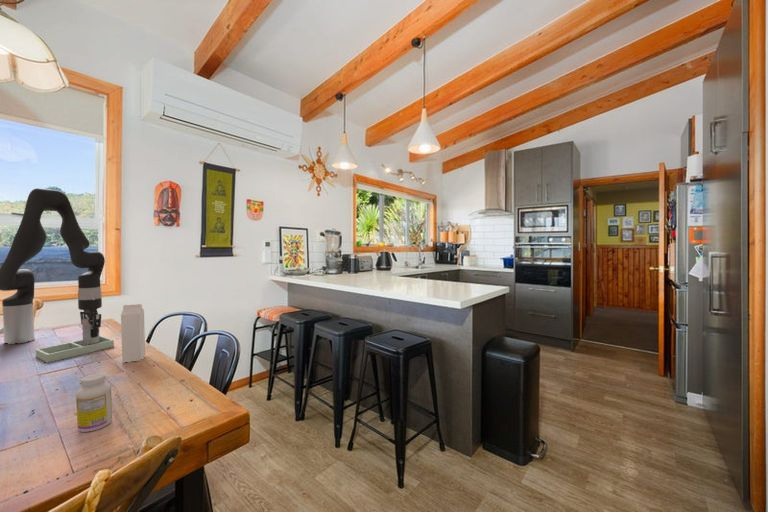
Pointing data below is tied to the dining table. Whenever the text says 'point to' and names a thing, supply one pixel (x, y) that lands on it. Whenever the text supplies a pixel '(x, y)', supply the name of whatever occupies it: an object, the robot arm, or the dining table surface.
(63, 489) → the dining table surface
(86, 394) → the supplement bottle
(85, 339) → the energy drink
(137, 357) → the milk
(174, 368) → the dining table surface
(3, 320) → the robot arm
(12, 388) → the dining table surface
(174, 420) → the dining table surface
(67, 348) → the caddy
